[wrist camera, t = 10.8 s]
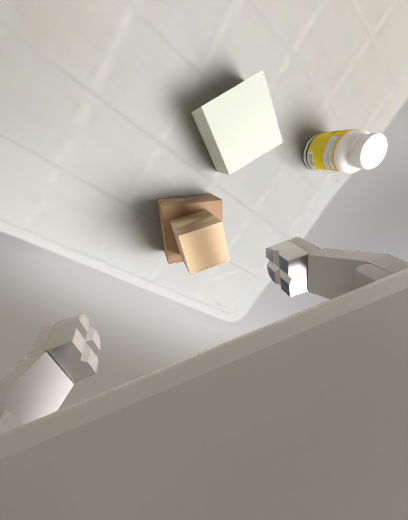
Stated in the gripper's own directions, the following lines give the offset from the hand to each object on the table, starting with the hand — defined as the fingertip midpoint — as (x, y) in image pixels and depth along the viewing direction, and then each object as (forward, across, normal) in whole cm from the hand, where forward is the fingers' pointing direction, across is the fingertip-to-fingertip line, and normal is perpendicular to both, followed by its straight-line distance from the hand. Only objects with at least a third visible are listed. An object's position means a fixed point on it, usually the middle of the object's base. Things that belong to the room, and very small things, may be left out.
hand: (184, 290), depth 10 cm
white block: (+26, -13, -5) cm, 29 cm away
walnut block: (+25, -4, +6) cm, 26 cm away
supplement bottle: (+26, -27, +1) cm, 37 cm away
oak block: (+20, -4, +6) cm, 22 cm away
